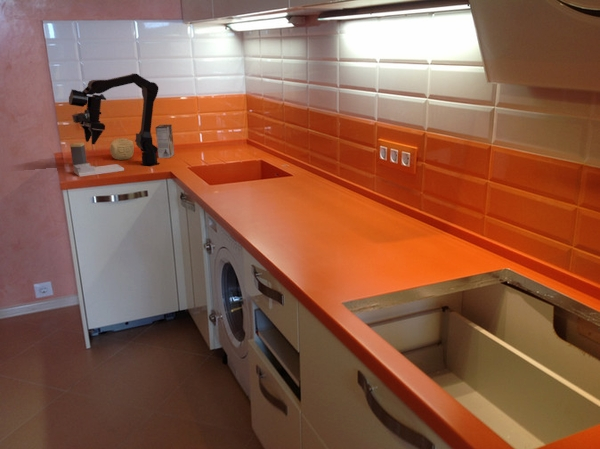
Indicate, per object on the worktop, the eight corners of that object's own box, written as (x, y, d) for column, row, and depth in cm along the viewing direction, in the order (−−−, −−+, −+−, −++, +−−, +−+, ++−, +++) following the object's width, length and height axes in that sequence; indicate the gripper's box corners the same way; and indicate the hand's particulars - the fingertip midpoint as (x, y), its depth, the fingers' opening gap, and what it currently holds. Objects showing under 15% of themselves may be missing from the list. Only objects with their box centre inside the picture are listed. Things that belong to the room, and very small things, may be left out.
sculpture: (114, 162, 275) (111, 140, 272) (109, 158, 285) (106, 137, 282) (137, 159, 281) (134, 138, 277) (131, 155, 291) (129, 135, 287)
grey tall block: (87, 165, 269) (84, 142, 266) (83, 167, 265) (80, 144, 261) (77, 165, 269) (73, 143, 266) (73, 167, 265) (70, 144, 261)
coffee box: (162, 154, 292) (159, 124, 287) (174, 154, 292) (171, 124, 287) (158, 158, 283) (155, 127, 278) (170, 157, 283) (167, 126, 278)
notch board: (117, 166, 265) (116, 159, 264) (123, 170, 256) (123, 163, 255) (74, 172, 254) (72, 164, 253) (79, 176, 246) (78, 168, 244)
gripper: (69, 104, 248) (65, 138, 251) (81, 107, 233) (77, 143, 236) (94, 107, 255) (90, 141, 257) (107, 111, 240) (103, 146, 243)
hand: (90, 143), depth 248 cm, fingers open, 9 cm apart
